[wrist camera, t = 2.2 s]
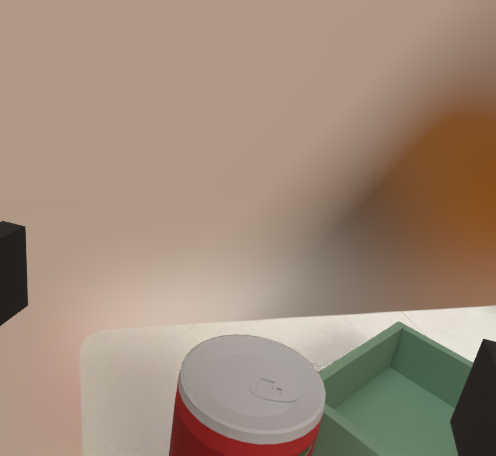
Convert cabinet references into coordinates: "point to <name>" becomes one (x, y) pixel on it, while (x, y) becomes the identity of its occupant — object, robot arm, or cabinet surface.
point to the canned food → (246, 400)
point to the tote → (392, 398)
